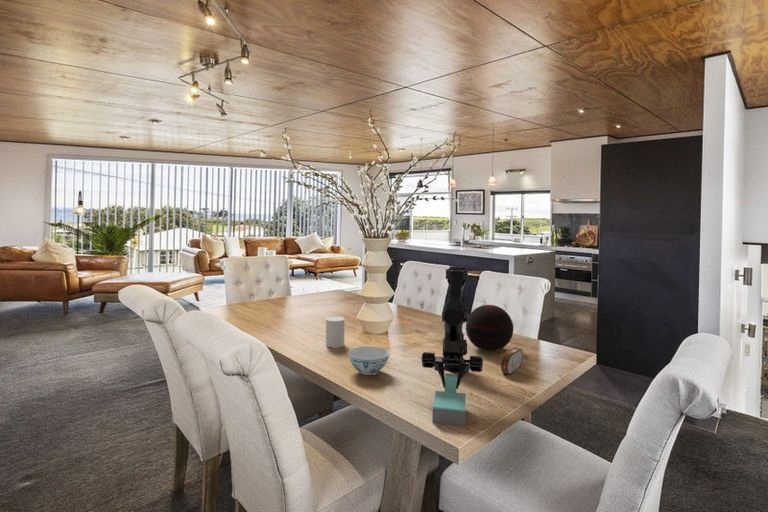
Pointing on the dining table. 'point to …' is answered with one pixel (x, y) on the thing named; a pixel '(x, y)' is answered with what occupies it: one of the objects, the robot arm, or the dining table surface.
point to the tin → (511, 360)
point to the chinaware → (368, 359)
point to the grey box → (448, 417)
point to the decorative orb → (489, 328)
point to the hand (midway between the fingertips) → (450, 387)
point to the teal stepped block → (450, 396)
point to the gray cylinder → (335, 332)
